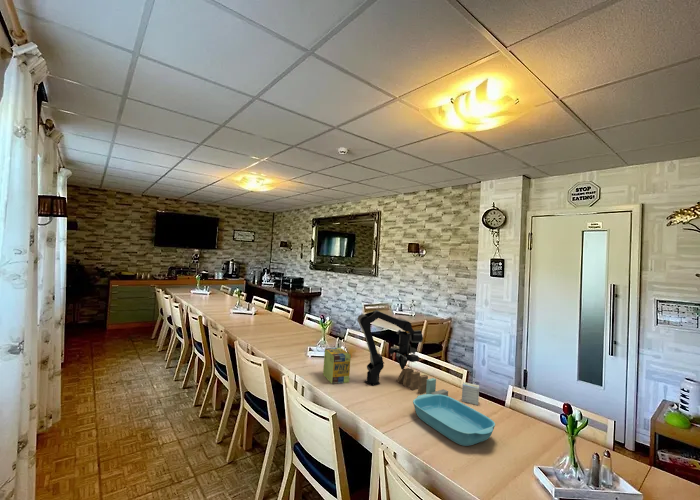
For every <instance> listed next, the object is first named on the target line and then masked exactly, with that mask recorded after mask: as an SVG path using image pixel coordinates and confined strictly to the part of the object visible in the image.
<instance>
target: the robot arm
mask: <svg viewBox="0 0 700 500" xmlns="http://www.w3.org/2000/svg"><path fill="white" fill-rule="evenodd" d="M378 319H380V320H382V321H384V322H387V323H390V324H392V325H395V326H396V327H398V328H400V329H398V331H396V335H398V336H399V341H398V343H397V346H398V347H390V348H389V349H388V353H389V354H390V355H394V354H396V355H395V358H396V360H397V361H398V362H397V363H398V364H399V367H400V369H401V371H402V370H403V369H405V368H406V365H407V363H408V362H411V363H415V362H419V360H420V357H419V355H418V354H416V350H417V348H415V347H412V344H410V342H411V343H423V340H424V337H423V334H422V333H423V331H422V330H420V329H418V330H414V329H413V327H412V323H411V322H410V321H408V320H406V319H402V318H397V317H394V316H392V315H389V314H387V313H384V312H382V311H379V310H377V309H375V310H373V311H370V312H367V313H363V314H362V313H361V314H359V315H358V317H357V319H356V320H357V322H358V324H359V326H360V329H361V330H362V332H363V334H364V335H363V336H364V337H365V341H366V345H367V348H368V352H369V354H370V356H369V358H370V359H369V360H370V362H369V363H368V364H367V365H366V369H367V372H366V380H365V381H364V383H366V384H367V385H369V386H372V387H373V386H378V385H380V384H381V382H380V374H381V372H382V370H383V369H384V366H385V365H384V364H385V362H384V358H383V356H382V355H381V354H380V353H378V351H377V350H378V349H377V347H376V343H375V340H374V336H373V334H372V330H371V329H372V328H371V327H372V325H371V324H372V323H373V322H375V321H376V320H378Z"/></svg>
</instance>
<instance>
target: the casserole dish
mask: <svg viewBox="0 0 700 500" xmlns="http://www.w3.org/2000/svg"><path fill="white" fill-rule="evenodd" d="M412 403H413V408H414V410H415V413H416V415H417V417H418V418H419V419H420V420H421V421H422V422H424V423H425V424H427V425H428V426H429V427H431V428H432V429H434V430H435V431H437V432H438V433H440V434H441V435H442V436H444V437H446V438H447V439H449V440H450V441H451V442H454V443H456V444H457V445H460V446H463V447H469V446H473V445H476V444H479V443H483V442H484V441H487V440H488V439H489V438H490V437H491V436H492V433H493V431H494V429H495V427H496V422H495V421H494V420H492V418H490V417H488V416H487V415H486V414H483V413H482V412H480V411H478V410H475V409H474V408H473V407H470V406H468V405H466V404H465V403H464V402H462V401H459V400H457V399H455V398H453V397H451V396H449V395H448V396H446V395H441V394H426V393H424V394H419V395H417V397H416V398H414V399H413V401H412Z"/></svg>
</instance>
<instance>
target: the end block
mask: <svg viewBox="0 0 700 500" xmlns="http://www.w3.org/2000/svg"><path fill="white" fill-rule="evenodd" d="M431 394H441V395H446V396H449V391H448V390H446V389H444V388H443V389H439V390H435V392H432V393H431Z"/></svg>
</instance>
